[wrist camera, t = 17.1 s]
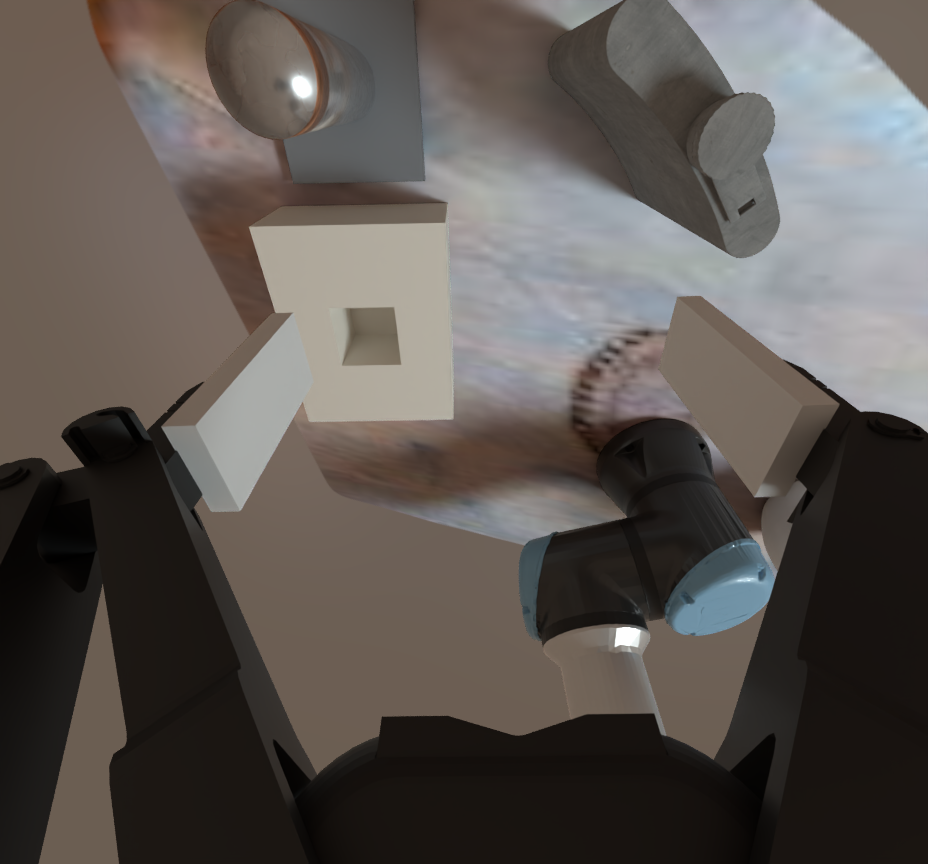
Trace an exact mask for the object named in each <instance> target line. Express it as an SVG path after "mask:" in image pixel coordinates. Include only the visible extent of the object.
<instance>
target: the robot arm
mask: <svg viewBox="0 0 928 864" xmlns="http://www.w3.org/2000/svg"><path fill="white" fill-rule="evenodd" d="M658 370H659V371H660V372H661V374H662V375H663V376H664V378H665V379H666V380H667V382H668V383H669V384H670V386H671V387H672V388H673V390H674V391H675V392H676V394H677V395H678V396H679V398H680V399H681V400H682V402H683V403H684V404H685V406H686V407H687V408H688V410H689V411H690V412H691V414H692V415H693V416H694V418H695V419H696V420H697V422H698V423H699V424H700V426H701V427H702V428H703V430H704V431H705V432H706V433H707V435H708V436H709V437H710V439H711V440H712V441H713V443H714V444H715V445H716V447H717V448H718V449H719V451H720V452H721V453H722V455H723V456H724V457H725V459H726V460H727V461H728V463H729V464H730V465H731V467H732V468H733V469H734V471H735V472H736V473H737V475H738V476H739V477H740V479H741V480H742V481H743V483H744V484H745V485H746V487H747V488H748V489H749V491H750V492H751V493H752V495H753V496H754V497H784V496H786V495H787V493H788V492H789V490H790V488H791V486H792V485H793V483H794V481H795V480H796V478H797V479H798V480H799V481H800V482H801V483H802V484H803V485H804V486H805V487H806V489H807V490H806V491H805V493H804V495H803V496H802V498H801V499H800V501H799V503H798V504H797V506H796V507H795V509H794V511H793V512H792V514H791V515H790V517H789V519H788V520H787V522H789V523H791V524H792V523H793V524H792V527H791V531H790V534H789V537H788V540H787V544H786V547H785V550H784V553H783V556H782V560H781V563H780V566H779V569H778V573H777V576H776V579H775V580H774V575H773V573H772V570H771V569H770V567H769V565H768V564H767V562H766V560H765V558H764V557H763V555H762V553H761V549H760V546H759V544H758V543H757V542H756V541H755V540H754V539H753V538H752V536H751V535H750V534H749V532H748V531H747V529H746V528H745V526H744V525H743V523H742V522H741V520H740V519H739V517H738V516H737V514H736V513H735V511H734V510H733V508H732V507H731V505H730V504H729V502H728V501H727V499H726V498H725V496H724V495H723V493H722V492H721V490H720V489H719V487H718V486H717V484H716V483H715V478H714V472H713V466H712V460H711V454H710V450H709V447H708V445H707V443H706V442H705V440H704V439H703V437H702V436H701V435H700V433H699V432H698V431H697V430H696V429H695V428H694V427H692V426H691V425H689V424H687V423H684V422H681V421H677V420H670V419H660V420H652V421H647V422H643V423H640V424H637V425H634V426H632V427H630V428H628V429H626V430H624V431H623V432H621V433H619V434H618V435H617V436H615V437H614V438H613V439H612V440H611V441H610V442H609V443H608V444H607V445H606V446H605V447H604V449H603V450H602V452H601V454H600V456H599V458H598V461H597V475H598V478H599V480H600V483H601V486H602V488H603V490H604V491H605V493H606V494H607V495H608V496H609V497H610V498H611V499H612V500H613V501H614V502H615V504H616V505H617V506H618V507H619V508H620V509H621V510H622V511H623V512H624V513H625V515H626V516H627V518H625V519H621V520H615V521H611V522H606V523H601V524H597V525H592V526H587V527H583V528H578V529H573V530H569V531H564V532H553V533H551V534H550V535H548V536H544V537H541V538H537V539H533V540H531V541H529V542H528V543H527V544H526V545H525V546H524V548H523V550H522V552H521V556H520V561H519V593H520V601H521V605H522V607H523V619H524V623H525V627H526V629H527V632H528V634H529V636H530V637H532V639H535V640H538V641H542V645H543V651H544V654H545V655H546V656H547V657H548V658H550V659H551V660H552V661H553V662H555V663H556V664H557V665H558V666H559V667H560V668H561V673H562V678H563V683H564V688H565V694H566V699H567V704H568V709H569V715H570V720H568V721H565V722H562V723H559V724H556V725H553V726H550V727H547V728H544V729H541V730H538V731H535V732H532V733H529V734H526V735H522V736H515V735H510V734H507V733H503V732H500V731H497V730H493V729H490V728H487V727H483V726H480V725H476V724H473V723H470V722H467V721H463V720H460V719H456V718H453V717H450V716H405V717H404V716H401V717H382V720H381V727H380V734H379V737H376V738H373V739H370V740H368V741H366V742H364V743H362V744H360V745H358V746H356V747H353V748H352V749H350V750H349V751H347V752H346V753H344V754H342V755H341V756H339V757H338V758H336V759H335V760H334V761H333V762H332V763H330V764H329V765H328V766H327V767H325V768H324V769H323V770H322V771H321V772H320V773H319V774H318V775H317V774H316V772H315V770H314V768H313V766H312V764H311V762H310V760H309V758H308V757H307V755H306V753H305V751H304V749H303V748H302V746H301V744H300V742H299V740H298V739H297V736H296V734H295V732H294V730H293V728H292V725H291V723H290V721H289V719H288V716H287V714H286V712H285V710H284V707H283V705H282V703H281V700H280V698H279V696H278V694H277V691H276V689H275V687H274V684H273V682H272V680H271V678H270V675H269V673H268V671H267V669H266V666H265V664H264V662H263V660H262V657H261V655H260V653H259V651H258V648H257V646H256V644H255V641H254V639H253V637H252V635H251V632H250V630H249V628H248V626H247V623H246V621H245V619H244V616H243V614H242V612H241V610H240V607H239V605H238V603H237V601H236V598H235V596H234V594H233V591H232V589H231V587H230V585H229V582H228V580H227V578H226V576H225V573H224V571H223V569H222V567H221V564H220V562H219V560H218V557H217V556H216V553H215V551H214V548H213V546H212V544H211V542H210V539H209V537H208V535H207V533H206V530H205V528H204V526H203V524H202V521H201V519H200V517H199V515H198V513H197V512H196V510H195V509H194V506H195V505H196V503H197V502H198V501H199V499H200V498H201V496H202V497H203V499H204V500H205V502H206V503H207V505H208V507H209V509H210V510H211V512H223V511H224V512H226V511H241V509H242V507H243V505H244V504H245V502H246V500H247V498H248V497H249V495H250V493H251V491H252V490H253V488H254V486H255V484H256V483H257V481H258V479H259V477H260V475H261V474H262V472H263V470H264V468H265V467H266V465H267V463H268V461H269V459H270V458H271V456H272V454H273V453H274V451H275V449H276V447H277V446H278V444H279V442H280V440H281V438H282V437H283V435H284V433H285V431H286V430H287V428H288V426H289V424H290V423H291V421H292V419H293V417H294V416H295V414H296V412H297V410H298V409H299V407H300V405H301V403H302V402H303V400H304V398H305V396H306V394H307V393H308V391H309V389H310V387H311V386H312V384H313V382H314V381H313V377H312V374H311V371H310V367H309V364H308V360H307V357H306V354H305V350H304V347H303V344H302V340H301V337H300V333H299V330H298V327H297V323H296V320H295V316H294V313H293V312H292V313H271V314H270V315H269V316H268V317H267V318H266V319H265V321H264V322H263V323H262V324H261V325H260V326H259V327H258V328H257V329H256V330H255V331H254V332H253V333H252V334H251V335H250V336H249V337H248V338H247V339H246V340H245V341H244V342H243V343H242V344H241V345H240V346H239V347H238V349H236V350H235V351H234V353H232V354H231V355H230V356H229V358H228V359H227V360H226V361H225V362H224V363H223V364H222V365H221V366H220V367H219V368H218V369H217V370H216V371H215V372H214V373H213V374H212V375H211V376H210V377H209V378H208V379H207V380H206V381H205V382H202V383H200V384H198V385H196V386H195V387H193V388H191V389H190V390H188V391H186V392H185V393H184V394H183V395H182V396H181V397H180V398H179V399H178V400H177V401H176V404H173V405H172V406H171V407H170V408H169V409H168V410H167V411H168V412H167V413H164V414H163V415H162V416H161V417H160V418H159V419H158V420H157V421H156V422H155V423H154V424H153V425H152V426H151V427H150V428H149V429H148V430H147V431H146V430H145V428H144V427H143V425H142V423H141V422H140V420H139V419H138V417H137V415H136V414H135V412H134V411H133V410H132V409H131V408H127V407H112V408H107V409H103V410H98V411H95V412H93V413H90V414H88V415H86V416H83V417H81V418H79V419H77V420H76V421H74V422H72V423H71V424H70V425H69V426H68V427H66V428H65V429H64V431H63V433H62V438H63V439H64V441H65V442H66V443H67V445H68V446H69V447H70V448H71V450H72V451H73V452H74V454H75V455H76V456H77V457H78V459H79V460H80V461H81V462H82V464H83V465H84V467H82V468H77V469H73V470H68V471H64V472H59V473H56V472H55V471H54V470H53V469H52V468H51V466H50V465H49V464H48V463H47V462H46V461H45V460H43V459H41V458H28V459H23V460H18V461H15V462H12V463H6V464H3V465H1V466H0V864H38V863H39V859H40V855H41V850H42V846H43V842H44V837H45V833H46V828H47V824H48V820H49V815H50V811H51V807H52V802H53V798H54V794H55V789H56V785H57V780H58V776H59V771H60V767H61V763H62V759H63V754H64V750H65V745H66V741H67V737H68V732H69V728H70V723H71V719H72V715H73V711H74V706H75V702H76V698H77V693H78V689H79V684H80V680H81V675H82V671H83V667H84V663H85V658H86V654H87V650H88V645H89V641H90V636H91V632H92V628H93V623H94V619H95V615H96V610H97V606H98V601H99V597H100V593H101V588H102V584H103V587H104V593H105V599H106V605H107V611H108V618H109V624H110V630H111V637H112V643H113V649H114V656H115V662H116V668H117V675H118V681H119V687H120V694H121V700H122V706H123V712H124V719H125V725H126V731H127V742H126V745H125V747H123V748H122V749H120V750H119V751H117V752H116V753H115V754H113V757H112V760H111V763H110V766H109V772H110V791H111V799H112V808H113V816H114V825H115V832H116V841H117V850H118V857H119V864H928V433H927V432H926V431H924V430H923V429H922V428H921V427H920V426H918V425H916V424H914V423H912V422H910V421H908V420H906V419H903V418H900V417H897V416H894V415H891V414H885V413H880V412H866V411H864V412H860V411H859V410H857V409H856V408H855V407H853V406H852V405H851V404H849V403H848V402H847V401H845V400H844V399H843V398H841V397H840V396H839V395H837V394H836V393H835V392H834V391H832V390H831V389H827V386H826V385H824V384H823V383H822V382H820V381H819V380H816V378H815V377H814V376H812V375H811V374H810V373H808V372H807V371H806V370H804V369H803V368H801V367H799V366H797V365H794V364H792V363H790V362H788V361H785V360H782V359H781V358H780V357H778V356H777V355H776V354H774V353H773V352H772V351H771V350H769V349H768V348H767V347H765V346H764V345H763V344H762V343H760V342H759V341H758V340H756V339H755V338H754V337H753V336H751V335H750V334H749V333H747V332H746V331H745V330H744V329H742V328H741V327H740V326H738V325H737V324H736V323H735V322H733V321H732V320H731V319H729V318H728V317H727V316H726V315H724V314H723V313H722V312H721V311H719V310H718V309H717V308H715V307H714V306H713V305H712V304H710V303H709V302H708V301H706V300H705V299H704V298H703V297H701V296H687V297H677V301H676V304H675V308H674V312H673V316H672V319H671V323H670V327H669V331H668V335H667V338H666V342H665V346H664V350H663V353H662V357H661V361H660V365H659V369H658ZM768 601H769V602H768ZM767 602H768V605H767V608H766V611H765V614H764V618H763V621H762V624H761V627H760V631H759V634H758V637H757V641H756V644H755V647H754V650H753V653H752V657H751V660H750V663H749V666H748V669H747V673H746V676H745V679H744V682H743V686H742V689H741V692H740V695H739V698H738V702H737V705H736V708H735V711H734V715H733V718H732V721H731V724H730V727H729V730H728V733H727V735H726V737H725V740H724V741H723V743H722V745H721V747H720V749H719V751H718V753H717V754H716V756H715V758H714V760H713V759H711V758H710V757H708V756H707V755H705V754H703V753H701V752H700V751H698V750H696V749H694V748H693V747H691V746H689V745H687V744H685V743H682V742H680V741H678V740H675V739H673V738H671V737H668V736H666V733H665V729H664V726H663V723H662V720H661V717H660V714H659V710H658V708H657V704H656V701H655V698H654V695H653V691H652V688H651V685H650V682H649V679H648V675H647V673H646V669H645V666H644V663H643V660H642V653H643V652H644V650H645V648H646V646H647V644H648V643H649V641H650V634H649V631H648V628H647V625H646V622H647V621H652V620H658V619H664V618H665V620H666V622H667V624H669V626H671V628H672V629H673V630H675V631H676V632H678V633H680V634H684V635H688V634H691V635H694V636H699V635H707V634H712V633H716V632H719V631H723V630H726V629H728V628H731V627H733V626H735V625H738V624H740V623H741V622H743V621H745V620H747V619H748V618H750V617H752V616H753V615H754V614H755V613H757V612H758V611H759V610H760V609H761V608H763V606H765V604H766V603H767Z"/></svg>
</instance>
